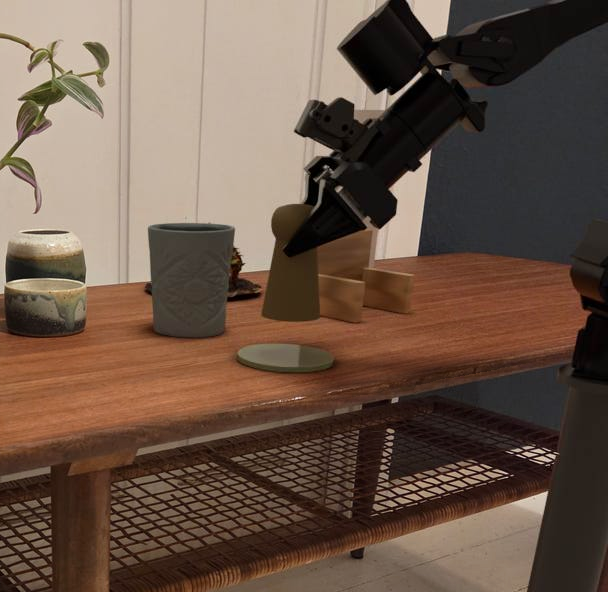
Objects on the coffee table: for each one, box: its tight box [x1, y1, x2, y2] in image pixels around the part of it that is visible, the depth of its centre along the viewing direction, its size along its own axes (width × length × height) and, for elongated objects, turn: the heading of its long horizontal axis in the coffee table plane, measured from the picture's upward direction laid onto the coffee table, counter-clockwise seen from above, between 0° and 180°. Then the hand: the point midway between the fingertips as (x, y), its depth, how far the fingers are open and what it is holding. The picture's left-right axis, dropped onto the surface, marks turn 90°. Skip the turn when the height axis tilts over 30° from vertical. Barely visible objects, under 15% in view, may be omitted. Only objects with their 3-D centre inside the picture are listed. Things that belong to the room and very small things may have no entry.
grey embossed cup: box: [147, 222, 236, 338], centre depth 104 cm, size 10×10×12 cm
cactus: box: [144, 222, 263, 298], centre depth 128 cm, size 17×16×10 cm
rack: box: [317, 229, 416, 324], centre depth 115 cm, size 9×11×10 cm
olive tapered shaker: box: [260, 203, 321, 323], centre depth 89 cm, size 6×6×11 cm
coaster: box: [236, 343, 335, 374], centre depth 93 cm, size 10×10×1 cm
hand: (281, 250), depth 89 cm, fingers closed on olive tapered shaker, 5 cm apart
